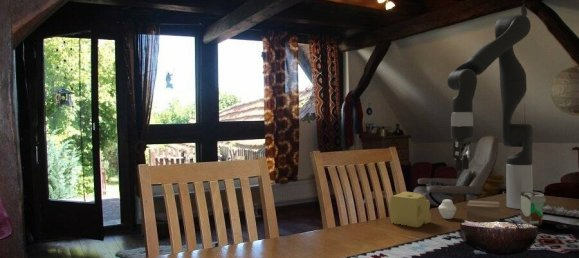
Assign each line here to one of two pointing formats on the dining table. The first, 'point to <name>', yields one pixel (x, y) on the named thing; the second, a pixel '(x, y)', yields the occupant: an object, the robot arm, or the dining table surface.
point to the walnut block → (482, 211)
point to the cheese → (410, 209)
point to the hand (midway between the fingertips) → (462, 170)
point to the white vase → (447, 209)
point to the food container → (532, 207)
